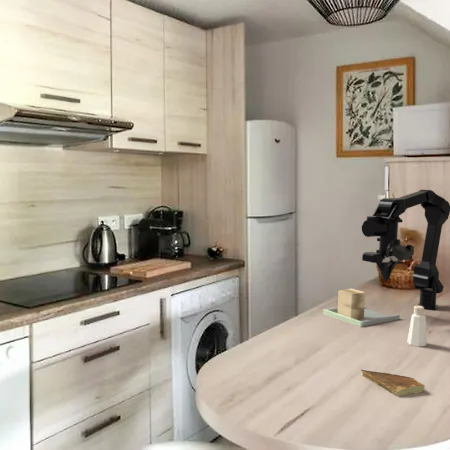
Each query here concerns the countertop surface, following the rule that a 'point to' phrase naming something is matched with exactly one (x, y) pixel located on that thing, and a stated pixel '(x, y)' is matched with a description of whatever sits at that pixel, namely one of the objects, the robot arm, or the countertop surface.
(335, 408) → the countertop surface
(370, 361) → the countertop surface
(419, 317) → the salt shaker
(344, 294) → the block
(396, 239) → the robot arm
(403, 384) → the shard
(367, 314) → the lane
